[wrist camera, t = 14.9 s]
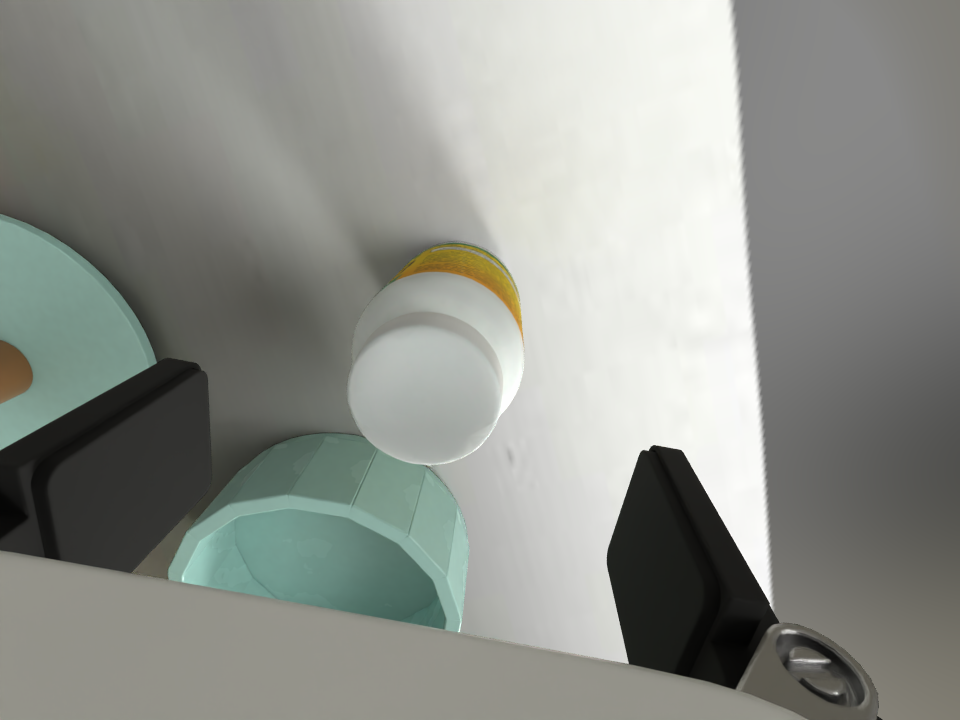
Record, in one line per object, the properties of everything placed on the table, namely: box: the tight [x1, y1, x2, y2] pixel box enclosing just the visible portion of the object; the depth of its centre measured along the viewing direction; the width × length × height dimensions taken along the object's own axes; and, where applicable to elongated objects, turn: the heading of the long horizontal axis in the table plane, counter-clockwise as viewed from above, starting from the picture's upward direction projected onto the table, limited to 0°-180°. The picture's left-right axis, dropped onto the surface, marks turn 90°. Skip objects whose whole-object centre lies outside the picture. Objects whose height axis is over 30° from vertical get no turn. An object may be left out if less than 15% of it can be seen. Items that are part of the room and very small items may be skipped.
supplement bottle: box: [347, 242, 524, 465], centre depth 17 cm, size 5×5×10 cm
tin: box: [168, 433, 469, 632], centre depth 25 cm, size 13×13×5 cm
